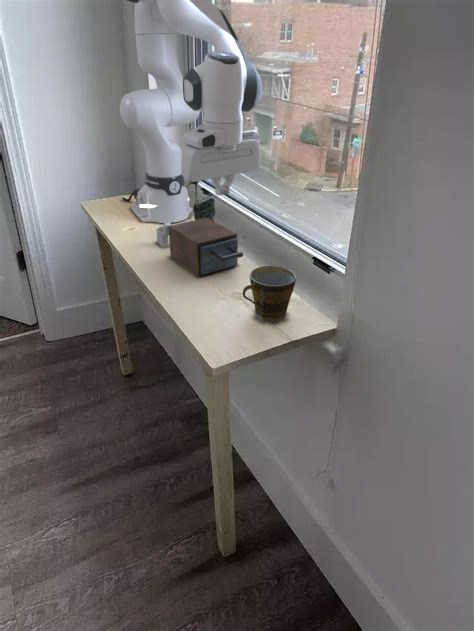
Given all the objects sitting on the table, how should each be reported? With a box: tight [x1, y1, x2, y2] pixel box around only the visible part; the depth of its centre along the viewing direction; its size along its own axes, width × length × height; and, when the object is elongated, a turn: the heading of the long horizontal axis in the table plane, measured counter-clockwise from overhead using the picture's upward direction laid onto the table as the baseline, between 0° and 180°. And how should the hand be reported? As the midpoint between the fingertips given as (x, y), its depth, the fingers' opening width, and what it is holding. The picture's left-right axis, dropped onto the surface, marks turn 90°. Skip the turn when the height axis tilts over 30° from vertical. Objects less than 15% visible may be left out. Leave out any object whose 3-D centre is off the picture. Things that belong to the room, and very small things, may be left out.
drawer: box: [200, 237, 244, 275], centre depth 133 cm, size 19×11×7 cm, turn 36°
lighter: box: [155, 222, 172, 248], centre depth 145 cm, size 7×2×8 cm, turn 33°
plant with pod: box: [187, 181, 216, 222], centre depth 150 cm, size 8×11×20 cm
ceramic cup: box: [242, 265, 297, 324], centre depth 111 cm, size 13×10×10 cm
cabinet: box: [168, 218, 238, 277], centre depth 136 cm, size 15×12×9 cm
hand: (222, 194), depth 121 cm, fingers closed
